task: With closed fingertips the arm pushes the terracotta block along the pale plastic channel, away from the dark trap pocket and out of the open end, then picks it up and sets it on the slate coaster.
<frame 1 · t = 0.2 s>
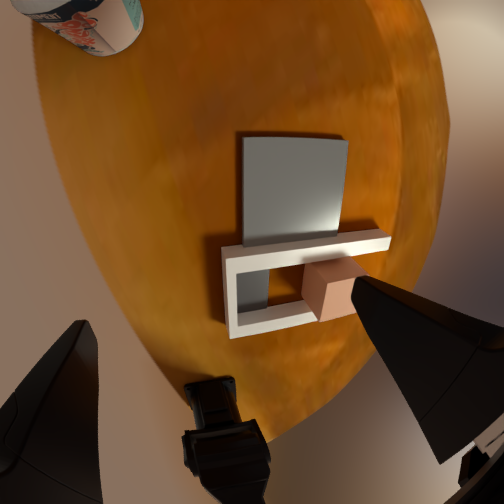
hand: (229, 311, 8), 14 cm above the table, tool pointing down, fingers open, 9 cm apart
block: (322, 273, 28), resting in channel
channel: (310, 276, 28), on the table
coaster: (294, 190, 22), on the table
beer can: (112, 29, 12), on the table
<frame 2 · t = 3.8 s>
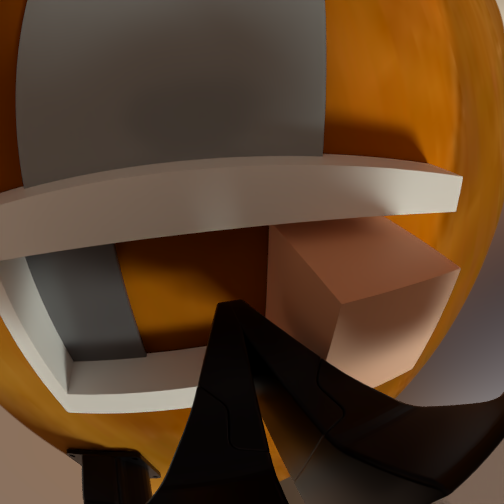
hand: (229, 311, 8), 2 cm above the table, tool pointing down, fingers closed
block: (321, 268, 11), resting in channel, touching gripper
channel: (251, 280, 10), on the table
coaster: (168, 14, 5), on the table
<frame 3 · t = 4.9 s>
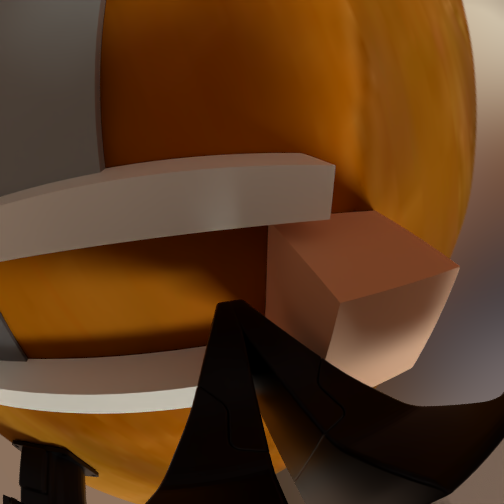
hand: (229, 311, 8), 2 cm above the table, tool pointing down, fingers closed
block: (320, 267, 11), on the table, touching gripper
channel: (81, 302, 8), on the table
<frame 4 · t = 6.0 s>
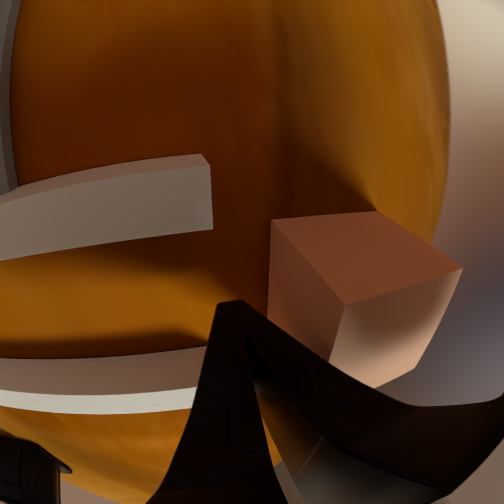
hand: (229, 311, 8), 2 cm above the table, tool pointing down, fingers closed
block: (323, 268, 11), on the table, touching gripper
channel: (18, 307, 8), on the table
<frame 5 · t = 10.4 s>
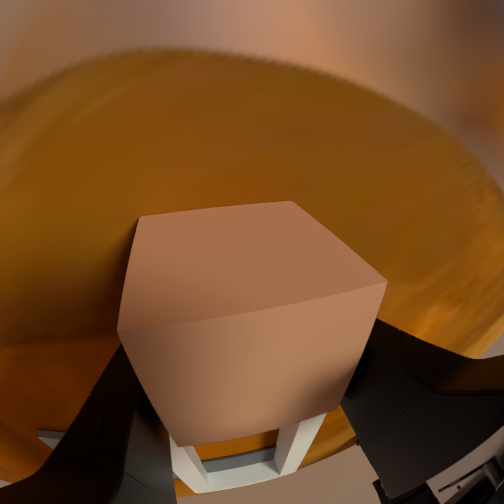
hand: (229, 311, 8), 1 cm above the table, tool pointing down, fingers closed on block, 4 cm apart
block: (221, 274, 9), on the table, touching gripper
channel: (236, 433, 15), on the table
coaster: (118, 458, 14), on the table
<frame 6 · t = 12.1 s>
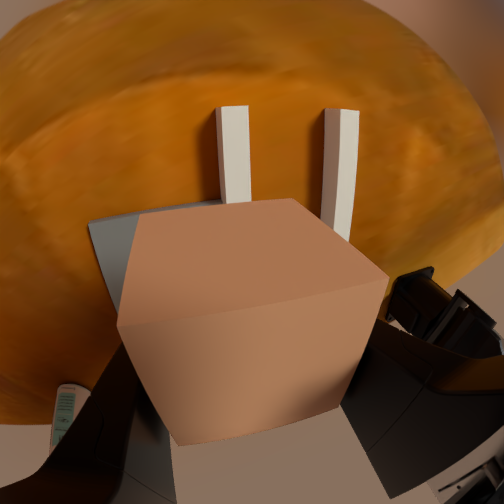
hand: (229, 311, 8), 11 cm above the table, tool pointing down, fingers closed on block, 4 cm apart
block: (222, 271, 9), point 10 cm above the table, touching gripper
channel: (284, 218, 20), on the table
coaster: (164, 268, 19), on the table
beer can: (77, 391, 23), on the table
when the fingers open (3 cm above the table, at t = 14.2 s): block drops 2 cm, resting on coaster.
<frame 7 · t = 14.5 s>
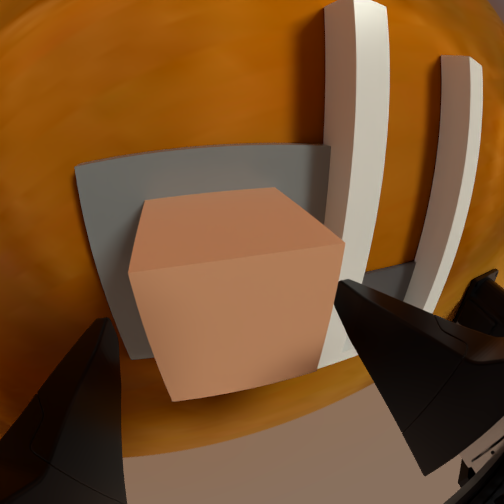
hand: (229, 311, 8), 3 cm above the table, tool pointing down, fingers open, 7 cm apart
block: (214, 251, 10), point 1 cm above the table, touching coaster
channel: (396, 190, 12), on the table
coaster: (212, 260, 11), on the table
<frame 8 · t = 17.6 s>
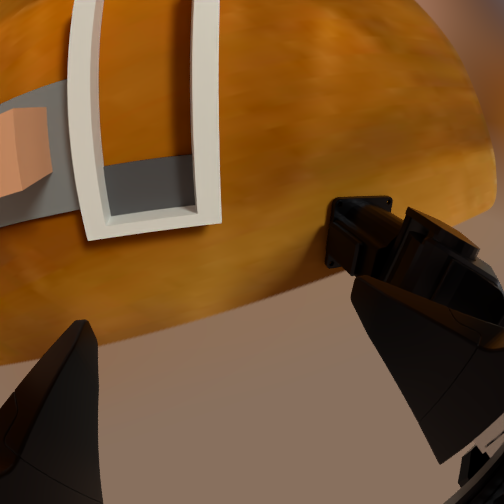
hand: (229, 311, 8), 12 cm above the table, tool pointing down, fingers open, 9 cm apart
block: (23, 147, 12), point 1 cm above the table, touching coaster
channel: (143, 92, 14), on the table
coaster: (27, 156, 13), on the table
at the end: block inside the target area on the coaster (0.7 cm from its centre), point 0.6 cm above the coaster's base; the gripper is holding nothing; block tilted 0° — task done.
